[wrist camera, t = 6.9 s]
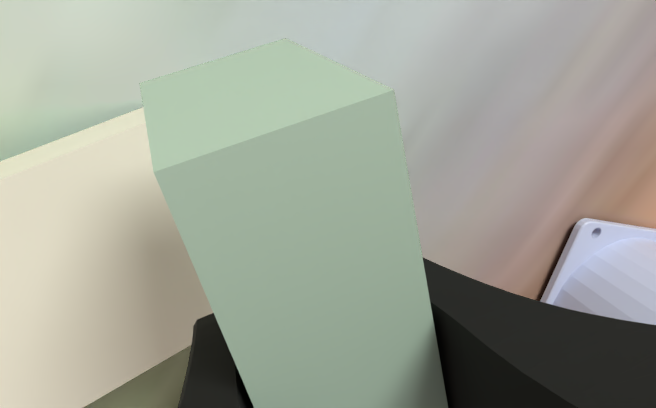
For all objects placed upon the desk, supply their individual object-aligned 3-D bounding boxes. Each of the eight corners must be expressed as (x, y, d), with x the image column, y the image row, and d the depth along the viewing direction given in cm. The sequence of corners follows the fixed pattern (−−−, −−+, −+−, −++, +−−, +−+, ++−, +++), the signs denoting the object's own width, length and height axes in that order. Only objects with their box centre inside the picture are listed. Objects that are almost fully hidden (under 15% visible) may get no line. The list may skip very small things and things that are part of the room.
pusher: (374, 381, 16) (471, 541, 11) (277, 426, 15) (341, 612, 11) (285, 38, 11) (394, 89, 7) (139, 83, 10) (152, 171, 6)
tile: (189, 105, 14) (-158, 240, 11) (262, 303, 18) (10, 449, 15) (169, 95, 16) (-144, 214, 13) (241, 281, 19) (6, 411, 16)
